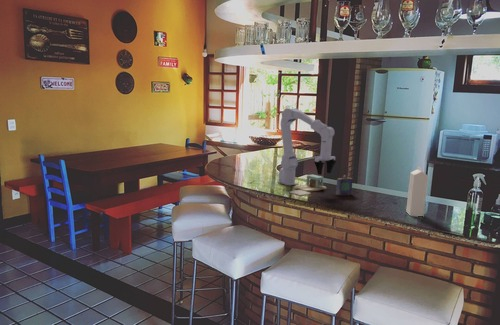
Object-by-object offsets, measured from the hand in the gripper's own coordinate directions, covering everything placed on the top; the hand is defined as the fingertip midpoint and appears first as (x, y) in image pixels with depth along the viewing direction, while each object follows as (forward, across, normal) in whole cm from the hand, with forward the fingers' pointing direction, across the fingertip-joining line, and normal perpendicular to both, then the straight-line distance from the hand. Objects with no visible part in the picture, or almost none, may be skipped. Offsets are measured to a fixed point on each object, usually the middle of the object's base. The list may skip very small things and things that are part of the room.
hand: (324, 173), depth 217 cm
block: (+10, +1, +7) cm, 12 cm away
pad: (+10, -15, +2) cm, 18 cm away
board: (+10, -3, +7) cm, 12 cm away
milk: (+10, +3, -53) cm, 54 cm away
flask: (+10, +3, -12) cm, 15 cm away
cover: (+8, +1, +7) cm, 11 cm away
